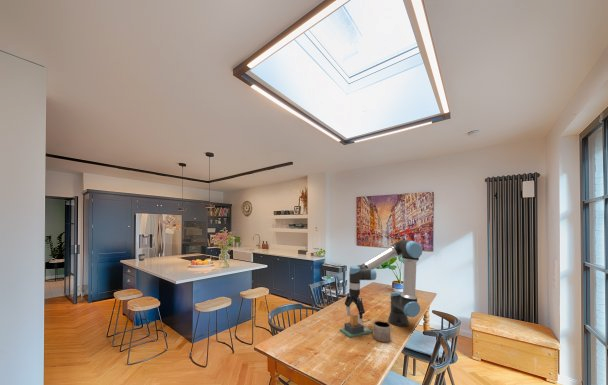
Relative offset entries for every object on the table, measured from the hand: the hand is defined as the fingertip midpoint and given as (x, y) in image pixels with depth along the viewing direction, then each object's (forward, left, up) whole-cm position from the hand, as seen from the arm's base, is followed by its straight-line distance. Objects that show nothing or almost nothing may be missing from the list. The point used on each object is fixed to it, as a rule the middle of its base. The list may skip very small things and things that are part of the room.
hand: (354, 319), depth 181 cm
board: (-2, 0, -9) cm, 9 cm away
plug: (0, 0, -7) cm, 7 cm away
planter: (-12, +15, -9) cm, 21 cm away
